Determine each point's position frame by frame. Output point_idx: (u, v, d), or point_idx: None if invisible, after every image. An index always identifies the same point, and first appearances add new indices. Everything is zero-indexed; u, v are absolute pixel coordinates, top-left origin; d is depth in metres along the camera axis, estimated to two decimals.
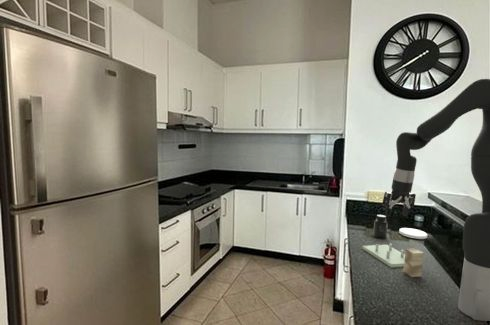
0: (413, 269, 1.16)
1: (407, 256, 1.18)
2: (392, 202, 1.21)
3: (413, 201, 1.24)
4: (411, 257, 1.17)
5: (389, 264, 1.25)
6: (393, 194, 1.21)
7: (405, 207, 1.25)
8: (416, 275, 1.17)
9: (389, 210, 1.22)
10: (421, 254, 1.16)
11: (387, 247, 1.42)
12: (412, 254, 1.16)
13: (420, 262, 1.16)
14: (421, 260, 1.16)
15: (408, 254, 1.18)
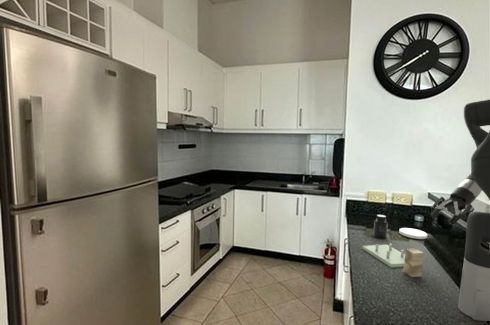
0: (413, 269, 1.16)
1: (407, 256, 1.18)
2: None
3: (465, 210, 1.13)
4: (411, 257, 1.17)
5: (389, 264, 1.25)
6: None
7: None
8: (416, 275, 1.17)
9: (434, 210, 1.24)
10: (421, 254, 1.16)
11: (387, 247, 1.42)
12: (412, 254, 1.16)
13: (420, 262, 1.16)
14: (421, 260, 1.16)
15: (408, 254, 1.18)
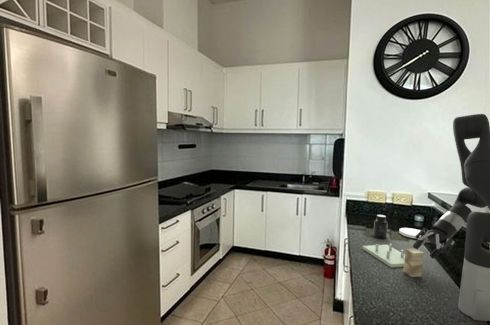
0: (413, 269, 1.16)
1: (407, 256, 1.18)
2: None
3: (446, 244, 1.13)
4: (411, 257, 1.17)
5: (389, 264, 1.25)
6: None
7: None
8: (416, 275, 1.17)
9: (417, 242, 1.23)
10: (421, 254, 1.16)
11: (387, 247, 1.42)
12: (412, 254, 1.16)
13: (420, 262, 1.16)
14: (421, 260, 1.16)
15: (408, 254, 1.18)
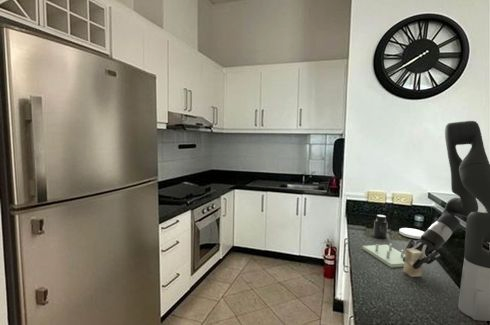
0: (413, 269, 1.16)
1: (407, 256, 1.18)
2: None
3: (429, 256, 1.13)
4: (411, 257, 1.17)
5: (389, 264, 1.25)
6: (417, 241, 1.23)
7: None
8: (416, 275, 1.17)
9: None
10: None
11: (387, 247, 1.42)
12: (412, 254, 1.16)
13: None
14: None
15: (408, 254, 1.18)
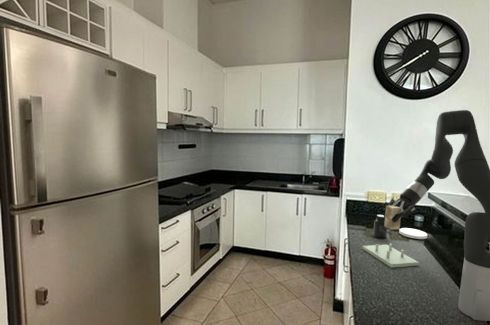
0: (392, 222, 1.31)
1: (387, 212, 1.33)
2: None
3: (406, 210, 1.28)
4: (390, 212, 1.31)
5: (389, 264, 1.25)
6: None
7: None
8: (395, 228, 1.31)
9: None
10: (399, 209, 1.31)
11: (387, 247, 1.42)
12: (391, 209, 1.31)
13: None
14: None
15: (388, 209, 1.33)
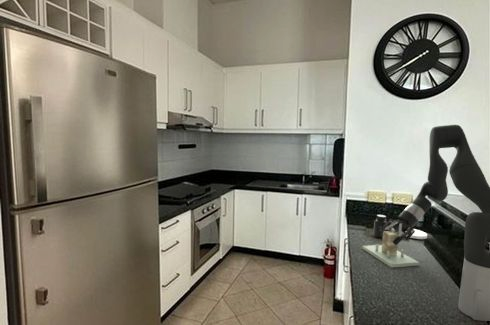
0: (389, 248, 1.32)
1: (384, 237, 1.35)
2: None
3: (406, 232, 1.28)
4: (387, 238, 1.33)
5: (389, 264, 1.25)
6: None
7: None
8: (392, 254, 1.33)
9: None
10: (396, 235, 1.32)
11: None
12: (388, 235, 1.32)
13: None
14: None
15: (385, 235, 1.34)
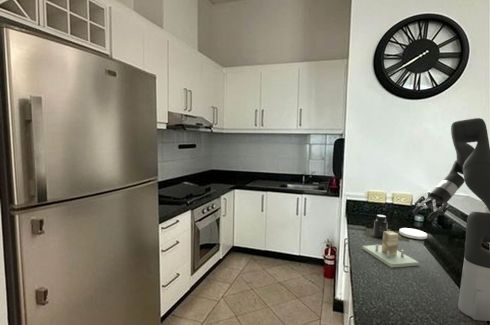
0: (389, 248, 1.32)
1: (384, 237, 1.35)
2: None
3: (441, 207, 1.27)
4: (387, 238, 1.33)
5: (389, 264, 1.25)
6: None
7: None
8: (392, 254, 1.33)
9: (415, 208, 1.37)
10: (396, 235, 1.32)
11: None
12: (388, 235, 1.32)
13: (396, 242, 1.33)
14: (396, 241, 1.33)
15: (385, 235, 1.34)
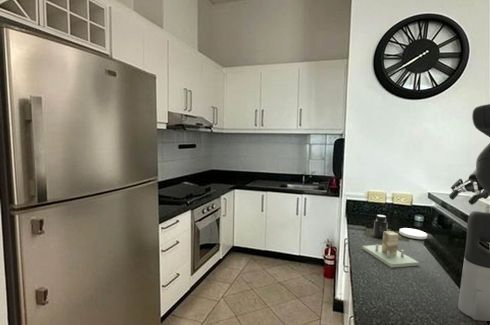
0: (389, 248, 1.32)
1: (384, 237, 1.35)
2: None
3: None
4: (387, 238, 1.33)
5: (389, 264, 1.25)
6: None
7: None
8: (392, 254, 1.33)
9: (453, 192, 1.25)
10: (396, 235, 1.32)
11: None
12: (388, 235, 1.32)
13: (396, 242, 1.33)
14: (396, 241, 1.33)
15: (385, 235, 1.34)
